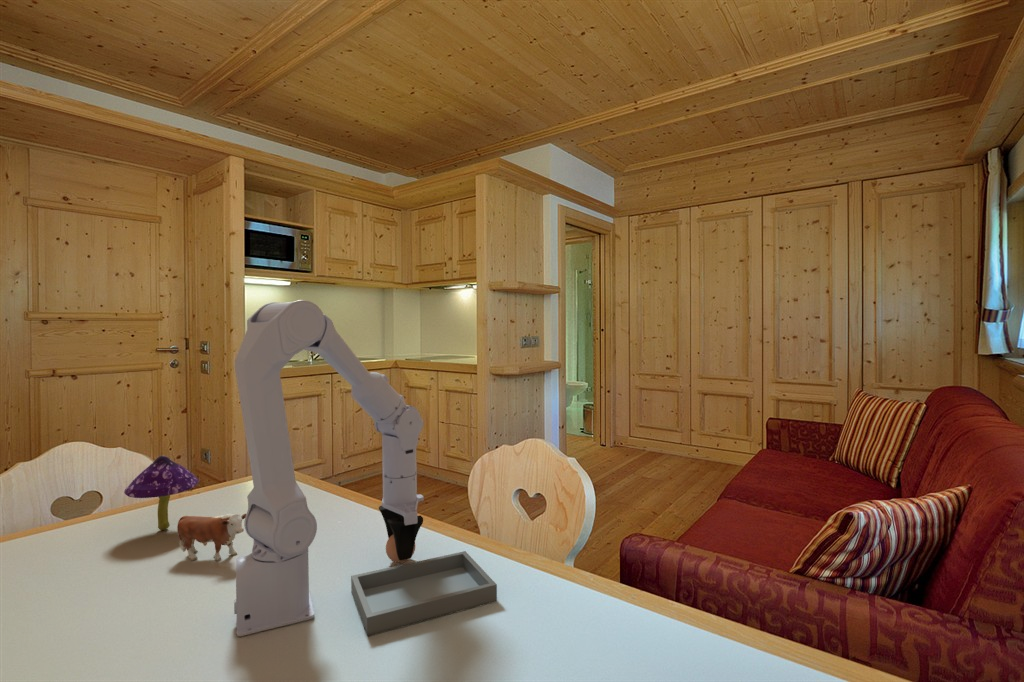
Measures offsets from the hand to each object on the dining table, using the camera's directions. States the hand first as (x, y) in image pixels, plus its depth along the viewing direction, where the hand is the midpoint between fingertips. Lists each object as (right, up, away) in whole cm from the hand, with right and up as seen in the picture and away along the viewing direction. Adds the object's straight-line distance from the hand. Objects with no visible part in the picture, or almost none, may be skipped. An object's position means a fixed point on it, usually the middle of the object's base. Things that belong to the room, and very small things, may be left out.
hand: (400, 552), depth 87 cm
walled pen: (+6, -2, -12) cm, 13 cm away
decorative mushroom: (-51, -2, +15) cm, 53 cm away
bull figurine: (-34, -2, +2) cm, 34 cm away
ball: (0, +1, 0) cm, 1 cm away
